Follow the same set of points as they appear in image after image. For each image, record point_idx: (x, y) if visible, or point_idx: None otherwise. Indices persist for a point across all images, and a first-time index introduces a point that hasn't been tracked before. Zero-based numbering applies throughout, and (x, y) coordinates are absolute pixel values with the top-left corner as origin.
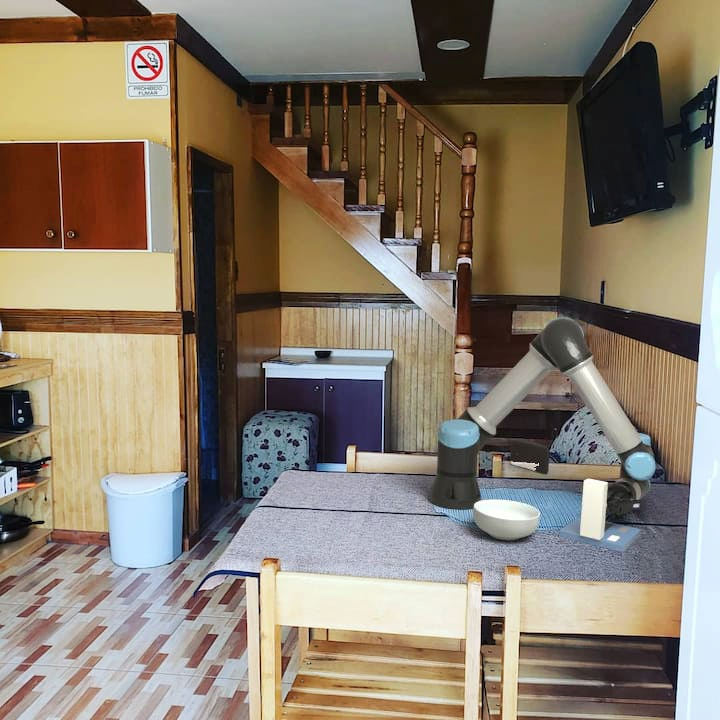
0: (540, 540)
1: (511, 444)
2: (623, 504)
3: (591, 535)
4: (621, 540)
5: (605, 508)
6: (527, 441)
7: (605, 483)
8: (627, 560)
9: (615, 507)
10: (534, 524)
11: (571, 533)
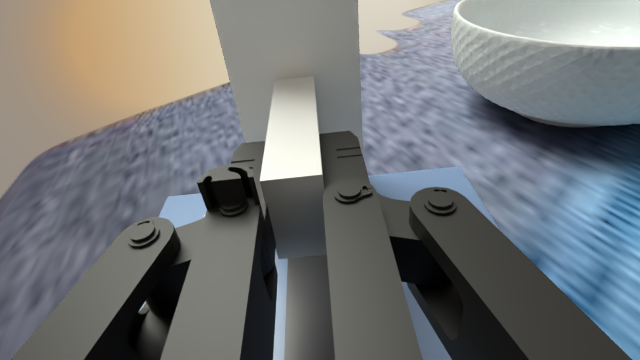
0: (460, 132)
1: None
2: (55, 316)
3: None
4: None
5: (226, 56)
6: None
7: None
8: (160, 177)
9: (177, 232)
10: (452, 40)
11: (401, 173)
